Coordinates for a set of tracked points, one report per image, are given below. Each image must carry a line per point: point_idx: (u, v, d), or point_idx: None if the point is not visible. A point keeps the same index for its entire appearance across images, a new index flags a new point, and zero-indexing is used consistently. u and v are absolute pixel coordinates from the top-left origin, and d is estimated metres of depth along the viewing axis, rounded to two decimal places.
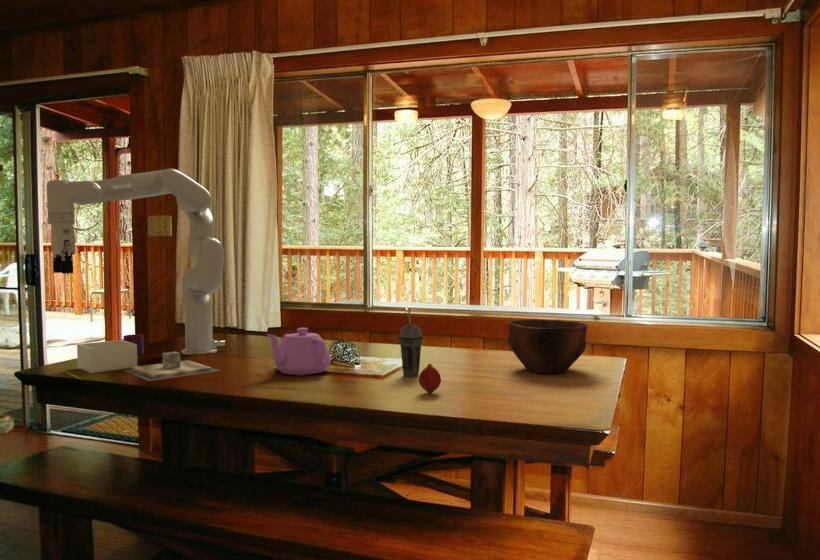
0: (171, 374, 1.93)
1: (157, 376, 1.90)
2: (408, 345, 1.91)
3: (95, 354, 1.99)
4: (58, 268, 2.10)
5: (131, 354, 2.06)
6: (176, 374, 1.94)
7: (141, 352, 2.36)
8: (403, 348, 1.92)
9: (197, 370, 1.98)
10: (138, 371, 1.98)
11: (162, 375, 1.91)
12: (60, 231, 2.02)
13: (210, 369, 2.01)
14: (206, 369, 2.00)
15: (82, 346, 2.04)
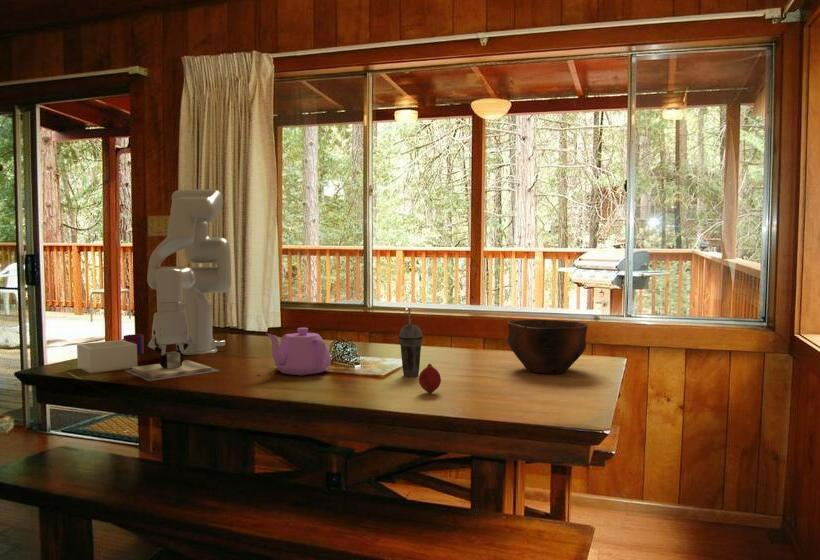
0: (171, 374, 1.93)
1: (157, 376, 1.90)
2: (408, 345, 1.91)
3: (95, 354, 1.99)
4: None
5: (131, 354, 2.06)
6: (176, 374, 1.94)
7: (141, 352, 2.36)
8: (403, 348, 1.92)
9: (197, 370, 1.98)
10: (138, 371, 1.98)
11: (162, 375, 1.91)
12: (186, 319, 2.03)
13: (210, 369, 2.01)
14: (206, 369, 2.00)
15: (82, 346, 2.04)
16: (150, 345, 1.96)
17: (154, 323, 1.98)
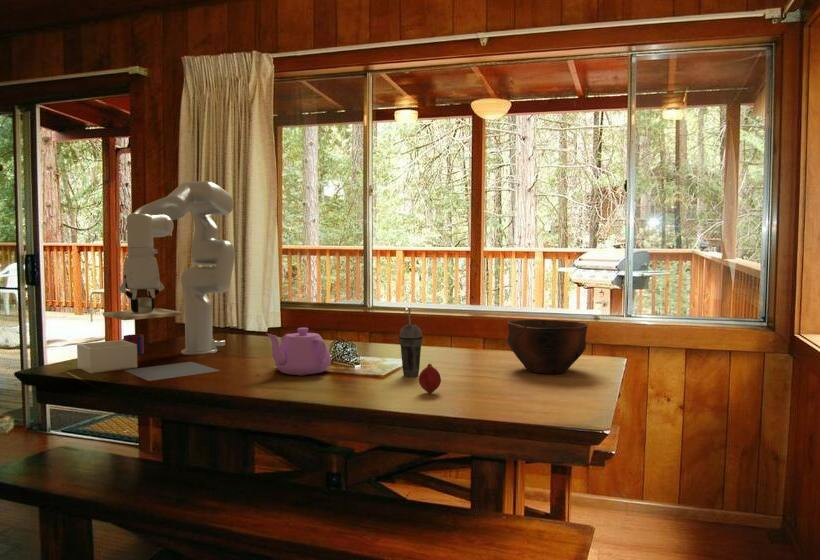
0: (142, 317, 1.94)
1: (128, 318, 1.92)
2: (408, 345, 1.91)
3: (95, 354, 1.99)
4: None
5: (131, 354, 2.06)
6: (147, 317, 1.96)
7: (141, 351, 2.36)
8: (403, 348, 1.92)
9: (168, 314, 2.00)
10: (109, 315, 2.00)
11: (133, 317, 1.93)
12: (157, 265, 2.05)
13: (181, 314, 2.03)
14: (177, 313, 2.02)
15: (82, 346, 2.04)
16: (121, 289, 1.98)
17: (125, 267, 1.99)
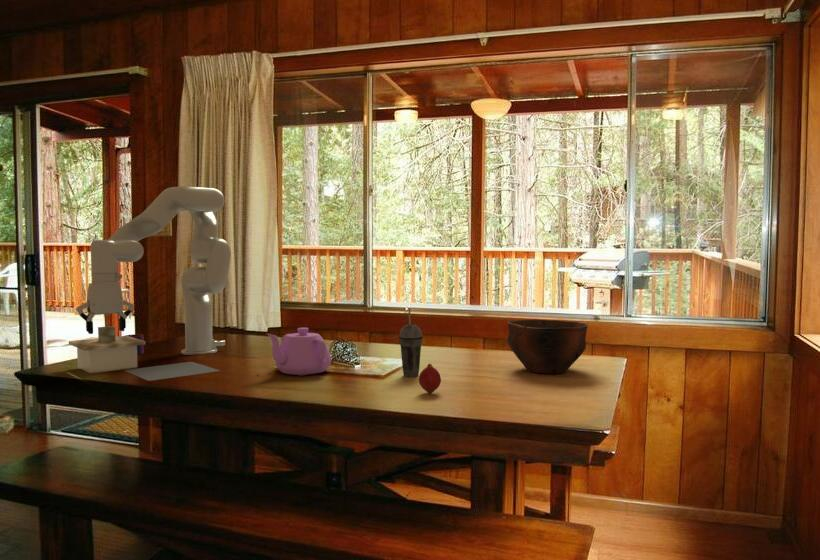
0: (103, 346, 1.98)
1: (89, 348, 1.96)
2: (408, 345, 1.91)
3: (95, 354, 1.99)
4: None
5: (131, 354, 2.06)
6: (109, 347, 1.99)
7: (141, 351, 2.36)
8: (403, 348, 1.92)
9: (130, 343, 2.04)
10: (73, 344, 2.04)
11: (94, 347, 1.97)
12: (121, 290, 2.09)
13: (144, 343, 2.07)
14: (140, 343, 2.06)
15: None
16: (78, 308, 2.01)
17: (88, 293, 2.04)
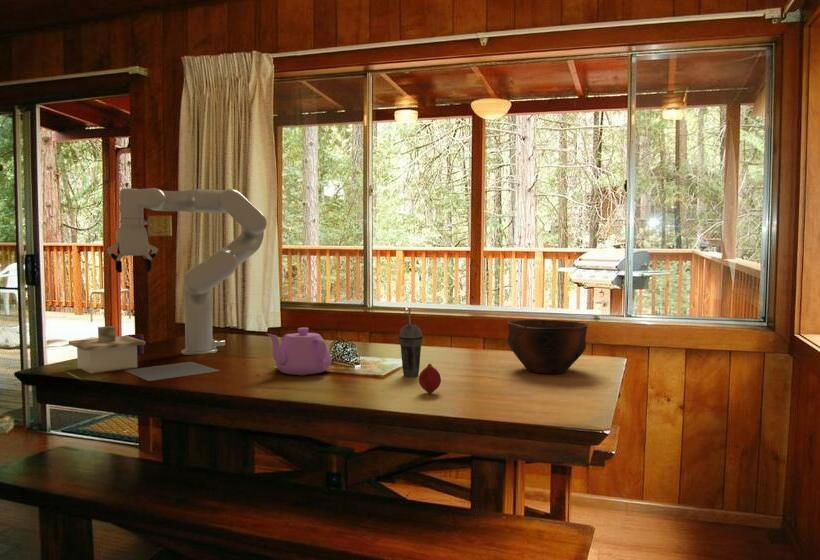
0: (103, 346, 1.98)
1: (89, 348, 1.96)
2: (408, 345, 1.91)
3: (95, 354, 1.99)
4: None
5: (131, 354, 2.06)
6: (109, 347, 1.99)
7: (141, 352, 2.36)
8: (403, 348, 1.92)
9: (130, 343, 2.04)
10: (73, 344, 2.04)
11: (94, 347, 1.97)
12: None
13: (144, 343, 2.07)
14: (140, 343, 2.06)
15: None
16: (109, 249, 2.23)
17: (118, 236, 2.26)
